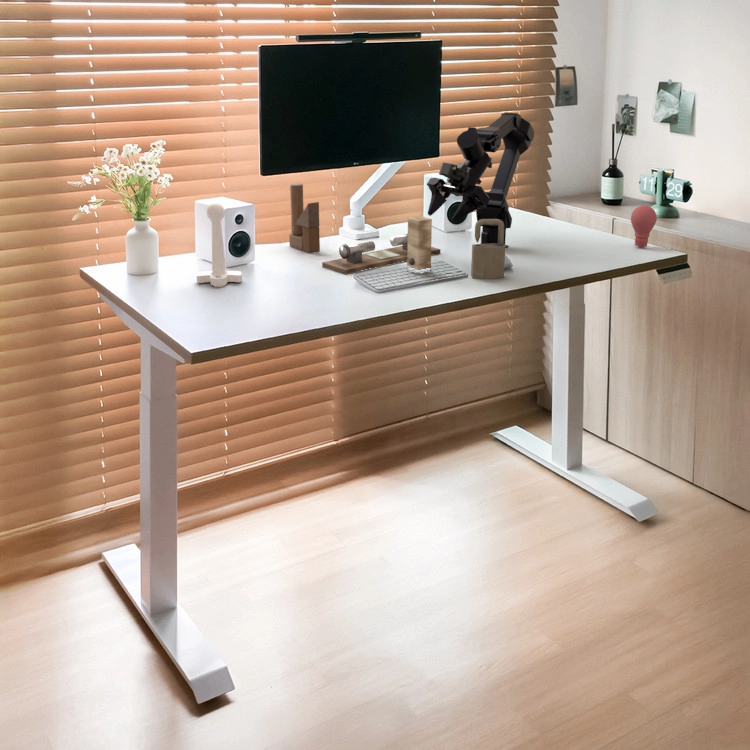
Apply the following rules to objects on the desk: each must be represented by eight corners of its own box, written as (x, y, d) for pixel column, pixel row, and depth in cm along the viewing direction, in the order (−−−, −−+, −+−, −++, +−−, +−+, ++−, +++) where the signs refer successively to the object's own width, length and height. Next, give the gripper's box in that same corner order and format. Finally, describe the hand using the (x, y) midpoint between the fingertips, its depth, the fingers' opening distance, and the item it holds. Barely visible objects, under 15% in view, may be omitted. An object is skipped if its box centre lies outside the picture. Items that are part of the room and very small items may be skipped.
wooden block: (309, 253, 274) (307, 189, 268) (289, 246, 282) (287, 183, 276) (320, 251, 276) (319, 188, 270) (299, 244, 284) (298, 182, 278)
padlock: (470, 275, 253) (472, 217, 248) (501, 274, 254) (504, 217, 248) (473, 279, 249) (475, 221, 244) (504, 278, 250) (507, 220, 244)
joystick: (242, 278, 250) (238, 201, 243) (240, 287, 243) (236, 207, 236) (198, 279, 249) (193, 201, 242) (195, 287, 242) (189, 207, 235)
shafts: (415, 246, 277) (415, 228, 275) (424, 248, 274) (424, 230, 272) (338, 262, 260) (338, 243, 258) (347, 265, 257) (347, 246, 255)
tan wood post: (421, 268, 260) (422, 215, 255) (432, 271, 256) (433, 218, 251) (406, 270, 257) (406, 218, 252) (416, 274, 253) (417, 221, 248)
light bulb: (643, 243, 284) (647, 202, 280) (658, 249, 278) (663, 207, 274) (623, 245, 282) (626, 204, 278) (637, 251, 276) (641, 209, 272)
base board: (416, 246, 281) (416, 241, 281) (440, 253, 274) (440, 248, 274) (322, 266, 261) (322, 261, 260) (345, 274, 254) (345, 268, 253)
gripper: (432, 146, 260) (401, 193, 257) (483, 155, 247) (450, 204, 244) (453, 173, 268) (422, 218, 265) (503, 182, 254) (471, 230, 252)
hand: (440, 217), depth 256 cm, fingers open, 9 cm apart
